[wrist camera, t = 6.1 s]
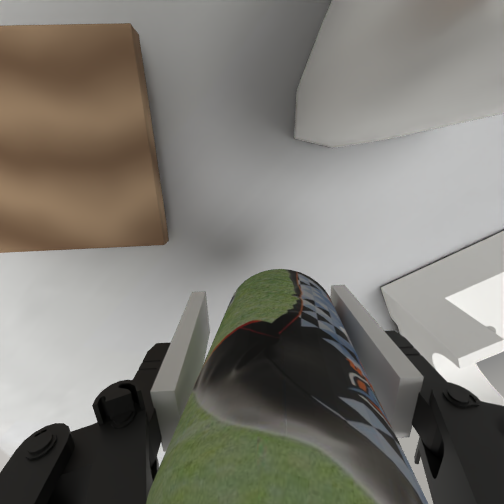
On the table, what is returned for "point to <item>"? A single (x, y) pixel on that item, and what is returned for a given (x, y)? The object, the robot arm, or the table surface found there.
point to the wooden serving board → (76, 140)
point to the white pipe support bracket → (455, 313)
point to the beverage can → (283, 411)
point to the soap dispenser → (400, 69)
